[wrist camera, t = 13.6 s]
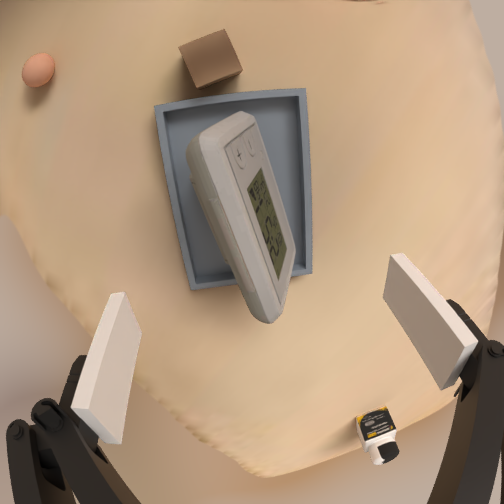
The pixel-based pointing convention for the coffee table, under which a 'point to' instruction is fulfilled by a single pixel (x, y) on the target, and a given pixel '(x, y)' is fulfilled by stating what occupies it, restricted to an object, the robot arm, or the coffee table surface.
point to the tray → (281, 159)
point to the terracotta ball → (38, 70)
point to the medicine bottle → (377, 435)
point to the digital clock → (244, 210)
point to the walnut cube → (210, 59)
